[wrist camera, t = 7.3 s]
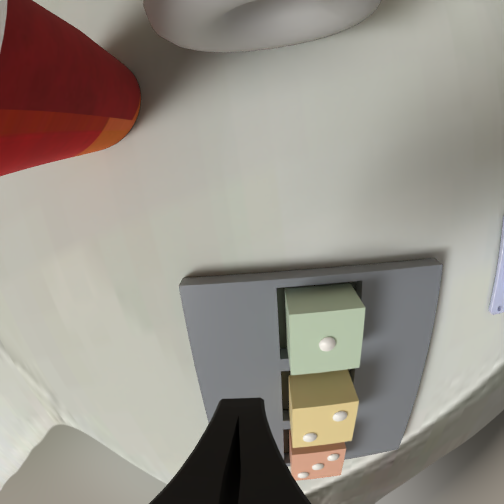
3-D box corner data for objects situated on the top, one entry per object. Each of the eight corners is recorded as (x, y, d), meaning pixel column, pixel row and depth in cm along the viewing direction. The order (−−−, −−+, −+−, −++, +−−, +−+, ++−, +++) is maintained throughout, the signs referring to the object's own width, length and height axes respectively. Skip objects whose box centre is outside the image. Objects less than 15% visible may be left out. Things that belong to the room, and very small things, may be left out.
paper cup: (81, 34, 15) (-86, -35, 1) (182, 67, 16) (30, -67, 2) (34, 145, 17) (-149, 178, 4) (124, 190, 18) (-74, 283, 4)
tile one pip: (350, 282, 19) (365, 308, 16) (347, 338, 20) (359, 368, 17) (284, 288, 19) (289, 315, 16) (286, 344, 20) (291, 376, 17)
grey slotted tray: (434, 258, 19) (442, 264, 18) (394, 439, 24) (398, 448, 23) (183, 277, 19) (178, 285, 18) (222, 458, 25) (221, 468, 24)
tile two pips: (347, 369, 20) (359, 402, 17) (343, 409, 21) (351, 441, 18) (288, 375, 20) (292, 410, 17) (289, 415, 21) (292, 449, 18)
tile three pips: (338, 418, 23) (346, 449, 20) (334, 447, 24) (340, 475, 21) (288, 424, 23) (291, 456, 20) (289, 452, 24) (291, 481, 21)
